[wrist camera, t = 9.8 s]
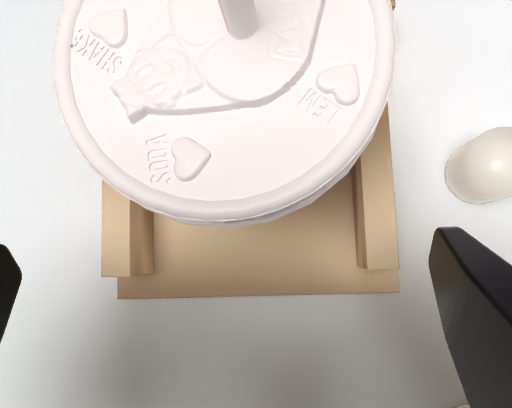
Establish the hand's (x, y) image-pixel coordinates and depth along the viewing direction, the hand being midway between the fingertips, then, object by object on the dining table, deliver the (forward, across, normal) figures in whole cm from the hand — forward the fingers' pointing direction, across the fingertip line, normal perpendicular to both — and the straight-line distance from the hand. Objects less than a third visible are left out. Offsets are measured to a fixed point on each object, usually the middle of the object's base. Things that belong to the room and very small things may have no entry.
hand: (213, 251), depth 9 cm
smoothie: (+8, 0, +3) cm, 9 cm away
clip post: (+8, -9, +4) cm, 13 cm away
